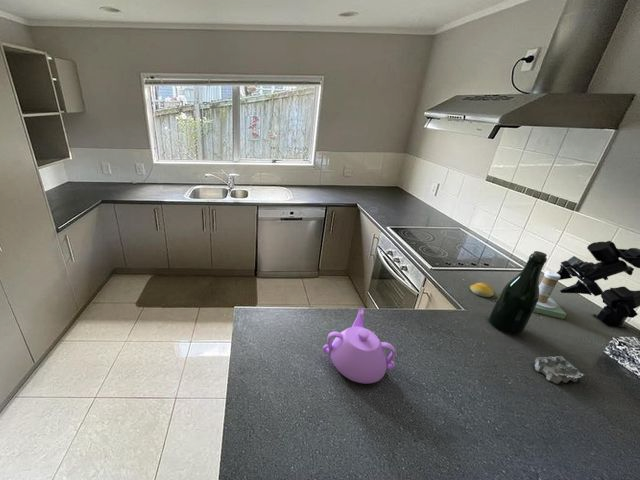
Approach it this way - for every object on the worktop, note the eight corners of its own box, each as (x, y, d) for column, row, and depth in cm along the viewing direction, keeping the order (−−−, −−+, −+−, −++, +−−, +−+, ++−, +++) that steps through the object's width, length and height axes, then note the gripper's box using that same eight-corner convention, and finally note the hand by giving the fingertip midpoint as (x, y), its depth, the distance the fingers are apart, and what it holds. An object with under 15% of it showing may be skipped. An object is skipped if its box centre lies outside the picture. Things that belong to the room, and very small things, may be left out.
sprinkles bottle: (539, 296, 124) (552, 270, 119) (549, 303, 120) (564, 276, 114) (529, 296, 124) (542, 270, 118) (539, 303, 119) (553, 276, 114)
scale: (549, 302, 126) (552, 295, 124) (563, 318, 115) (567, 312, 114) (510, 293, 131) (513, 287, 129) (521, 309, 120) (524, 302, 119)
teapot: (385, 342, 100) (394, 312, 95) (396, 398, 81) (408, 364, 75) (323, 329, 105) (328, 299, 100) (319, 378, 86) (325, 345, 81)
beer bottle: (500, 315, 116) (534, 244, 103) (528, 333, 107) (569, 258, 94) (481, 319, 114) (513, 247, 101) (508, 338, 104) (548, 261, 91)
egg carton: (551, 384, 87) (557, 375, 85) (528, 364, 94) (533, 355, 92) (582, 383, 88) (589, 374, 86) (557, 362, 95) (562, 354, 93)
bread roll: (466, 289, 132) (468, 282, 131) (477, 285, 136) (480, 278, 134) (485, 300, 125) (488, 292, 124) (496, 295, 129) (499, 288, 127)
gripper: (577, 243, 117) (533, 260, 125) (607, 264, 101) (554, 282, 109) (592, 264, 118) (547, 279, 126) (625, 288, 102) (571, 304, 110)
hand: (554, 285), depth 118 cm, fingers open, 9 cm apart
